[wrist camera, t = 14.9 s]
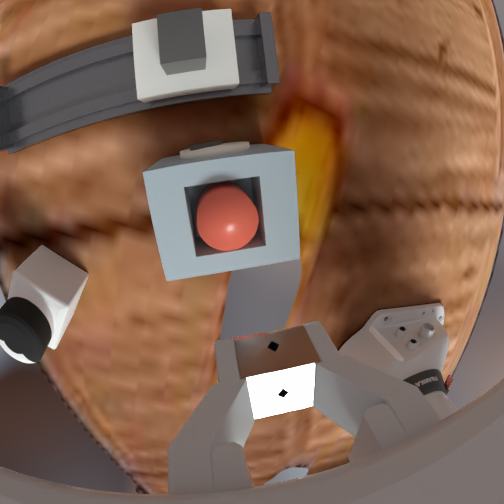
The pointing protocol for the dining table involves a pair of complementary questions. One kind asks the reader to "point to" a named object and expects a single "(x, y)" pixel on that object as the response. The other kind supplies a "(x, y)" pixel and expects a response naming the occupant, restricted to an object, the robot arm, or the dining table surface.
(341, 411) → the robot arm
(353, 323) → the dining table surface
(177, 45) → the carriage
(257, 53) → the rail
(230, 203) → the button
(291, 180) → the gauge cabinet
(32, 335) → the medicine bottle
